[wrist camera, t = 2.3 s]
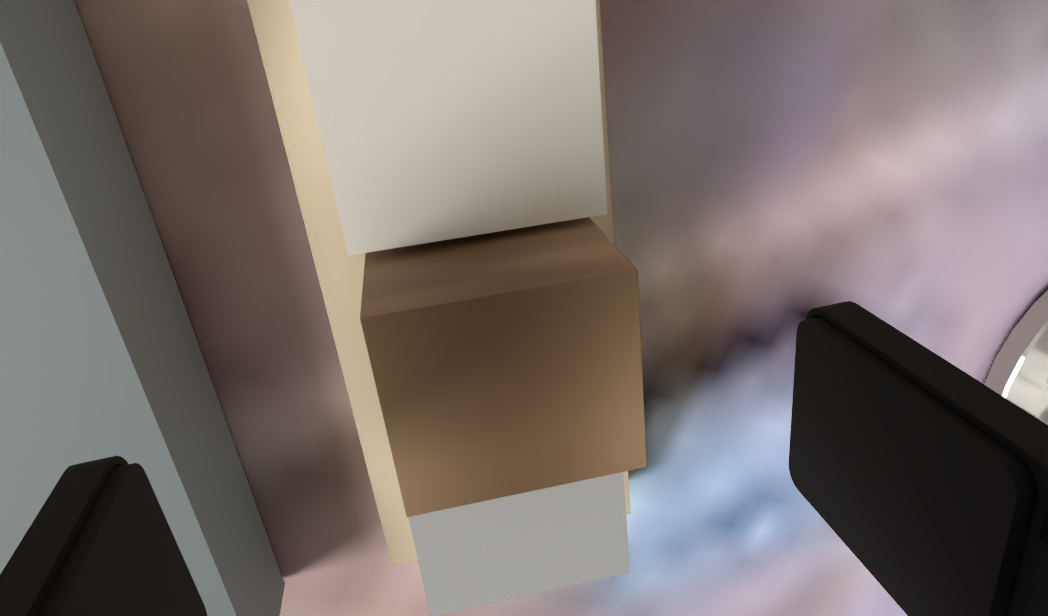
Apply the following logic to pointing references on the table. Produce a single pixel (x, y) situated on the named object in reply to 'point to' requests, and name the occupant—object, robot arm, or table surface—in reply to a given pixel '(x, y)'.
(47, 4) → the dock
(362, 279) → the pallet
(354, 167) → the crate
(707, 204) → the table surface
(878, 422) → the robot arm
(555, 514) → the block
